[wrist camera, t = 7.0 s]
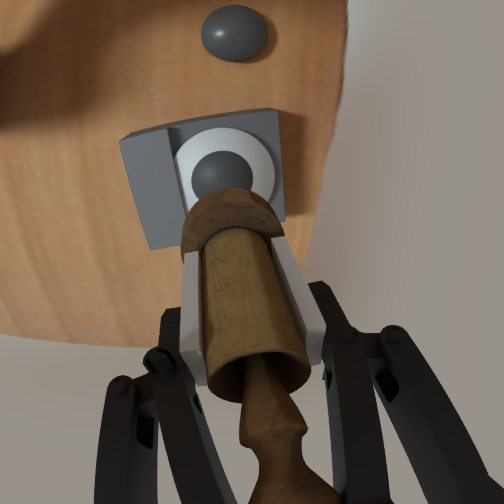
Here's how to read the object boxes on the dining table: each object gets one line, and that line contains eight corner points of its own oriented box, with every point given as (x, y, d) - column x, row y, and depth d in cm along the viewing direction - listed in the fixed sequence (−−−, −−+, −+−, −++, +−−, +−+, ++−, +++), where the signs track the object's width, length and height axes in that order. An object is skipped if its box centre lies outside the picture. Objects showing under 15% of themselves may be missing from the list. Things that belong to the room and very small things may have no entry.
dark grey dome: (205, 65, 25) (205, 64, 24) (198, 12, 21) (198, 9, 20) (268, 58, 25) (270, 58, 24) (261, 6, 21) (264, 3, 20)
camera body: (156, 228, 35) (150, 250, 31) (131, 132, 28) (118, 141, 23) (277, 207, 36) (287, 226, 32) (269, 107, 29) (280, 111, 24)
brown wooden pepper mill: (174, 193, 16) (157, 583, 2) (278, 182, 17) (463, 501, 2) (190, 277, 20) (211, 554, 5) (277, 267, 21) (370, 520, 6)
